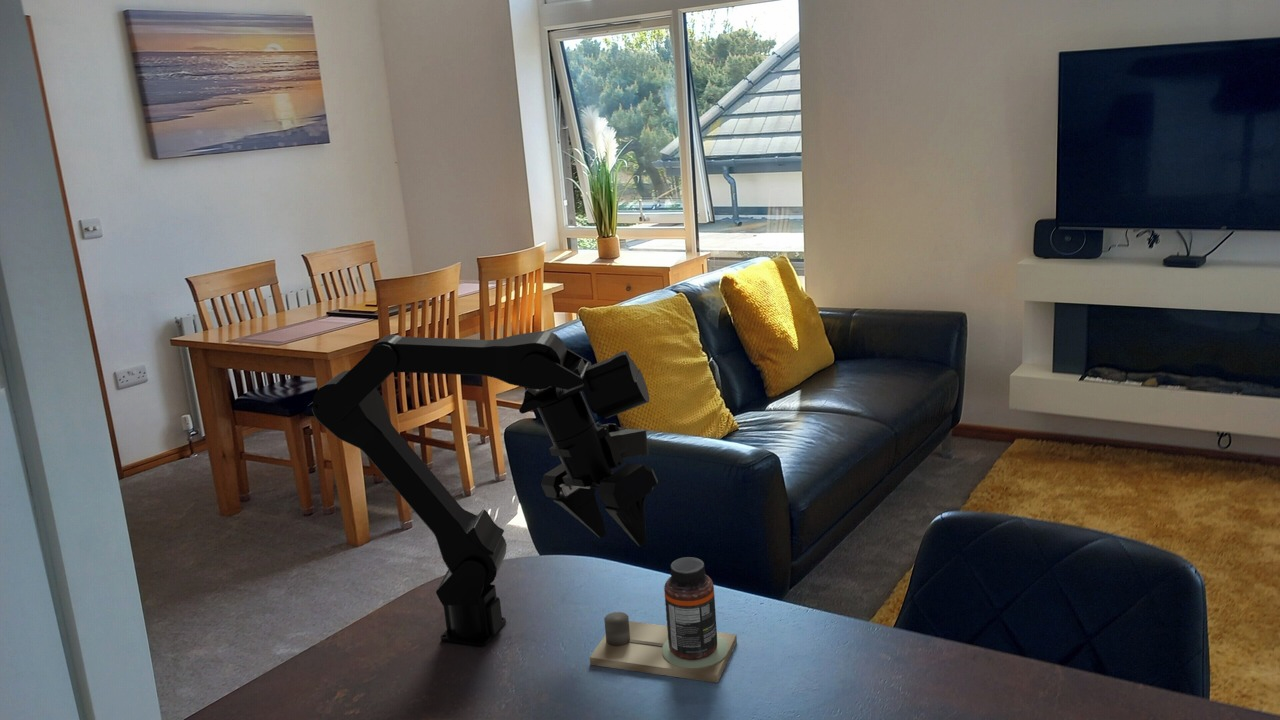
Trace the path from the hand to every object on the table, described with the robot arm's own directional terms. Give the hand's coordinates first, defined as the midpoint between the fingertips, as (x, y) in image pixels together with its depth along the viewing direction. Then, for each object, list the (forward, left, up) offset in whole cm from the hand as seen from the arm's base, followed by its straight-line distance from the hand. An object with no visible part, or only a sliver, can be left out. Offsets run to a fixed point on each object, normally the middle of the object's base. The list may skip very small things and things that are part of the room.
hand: (622, 540), depth 123 cm
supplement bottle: (+10, -5, -11) cm, 16 cm away
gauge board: (+6, -4, -12) cm, 15 cm away
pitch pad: (+10, -4, -12) cm, 17 cm away
